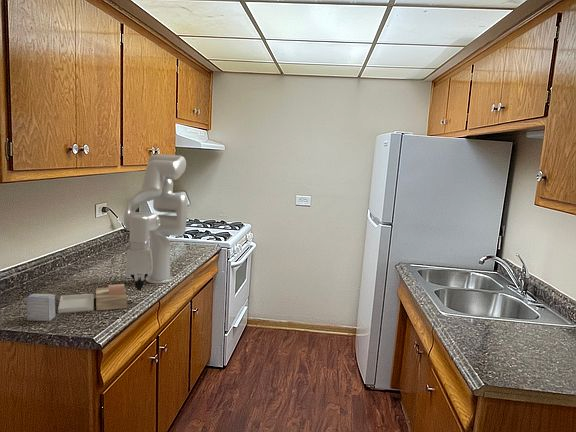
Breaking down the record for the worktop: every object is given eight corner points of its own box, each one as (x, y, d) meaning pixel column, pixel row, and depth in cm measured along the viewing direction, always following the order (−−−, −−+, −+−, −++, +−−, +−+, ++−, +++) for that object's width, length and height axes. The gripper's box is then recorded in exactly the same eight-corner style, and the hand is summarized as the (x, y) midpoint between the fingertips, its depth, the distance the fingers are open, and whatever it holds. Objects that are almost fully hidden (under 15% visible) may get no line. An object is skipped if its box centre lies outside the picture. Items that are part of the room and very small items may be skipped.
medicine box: (55, 317, 160) (55, 294, 159) (49, 321, 155) (49, 297, 154) (33, 316, 159) (33, 293, 158) (26, 320, 155) (26, 297, 154)
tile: (108, 291, 179) (108, 285, 179) (124, 289, 182) (124, 284, 182) (108, 295, 174) (108, 289, 174) (124, 294, 176) (125, 288, 176)
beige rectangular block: (96, 297, 183) (96, 288, 182) (124, 295, 187) (124, 286, 187) (96, 310, 168) (96, 300, 168) (127, 308, 173) (127, 298, 172)
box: (60, 300, 177) (60, 295, 177) (93, 297, 182) (93, 293, 182) (58, 313, 163) (58, 309, 163) (93, 310, 168) (93, 306, 168)
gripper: (120, 248, 173) (120, 293, 175) (159, 246, 179) (159, 290, 181) (119, 244, 179) (118, 288, 182) (157, 243, 185) (156, 285, 188)
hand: (138, 289), depth 181 cm, fingers closed
